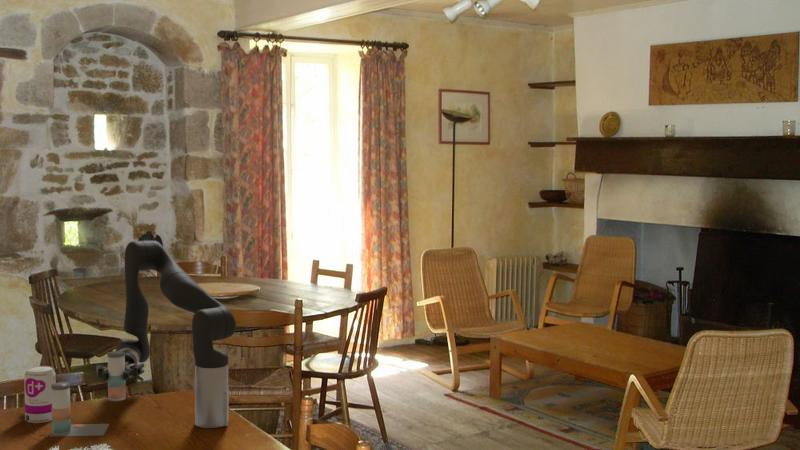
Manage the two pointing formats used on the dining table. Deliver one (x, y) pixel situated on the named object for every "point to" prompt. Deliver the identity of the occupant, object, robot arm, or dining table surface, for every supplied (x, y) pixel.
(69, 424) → the twin tube
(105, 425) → the slate card
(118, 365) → the slim tube
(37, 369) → the supplement can
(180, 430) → the dining table surface
